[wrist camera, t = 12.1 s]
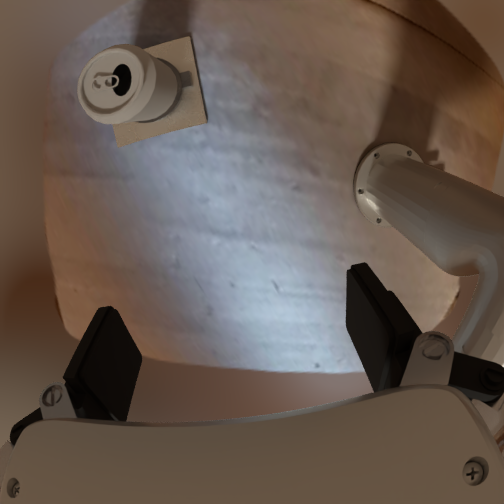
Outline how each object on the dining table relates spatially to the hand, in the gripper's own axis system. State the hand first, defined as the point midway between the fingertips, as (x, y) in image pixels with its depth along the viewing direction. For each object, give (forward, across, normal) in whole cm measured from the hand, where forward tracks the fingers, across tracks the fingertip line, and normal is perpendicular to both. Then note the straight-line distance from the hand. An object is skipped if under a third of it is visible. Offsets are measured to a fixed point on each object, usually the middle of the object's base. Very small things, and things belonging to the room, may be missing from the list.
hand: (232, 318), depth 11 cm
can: (+26, +8, -13) cm, 30 cm away
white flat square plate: (+28, +8, -13) cm, 32 cm away
